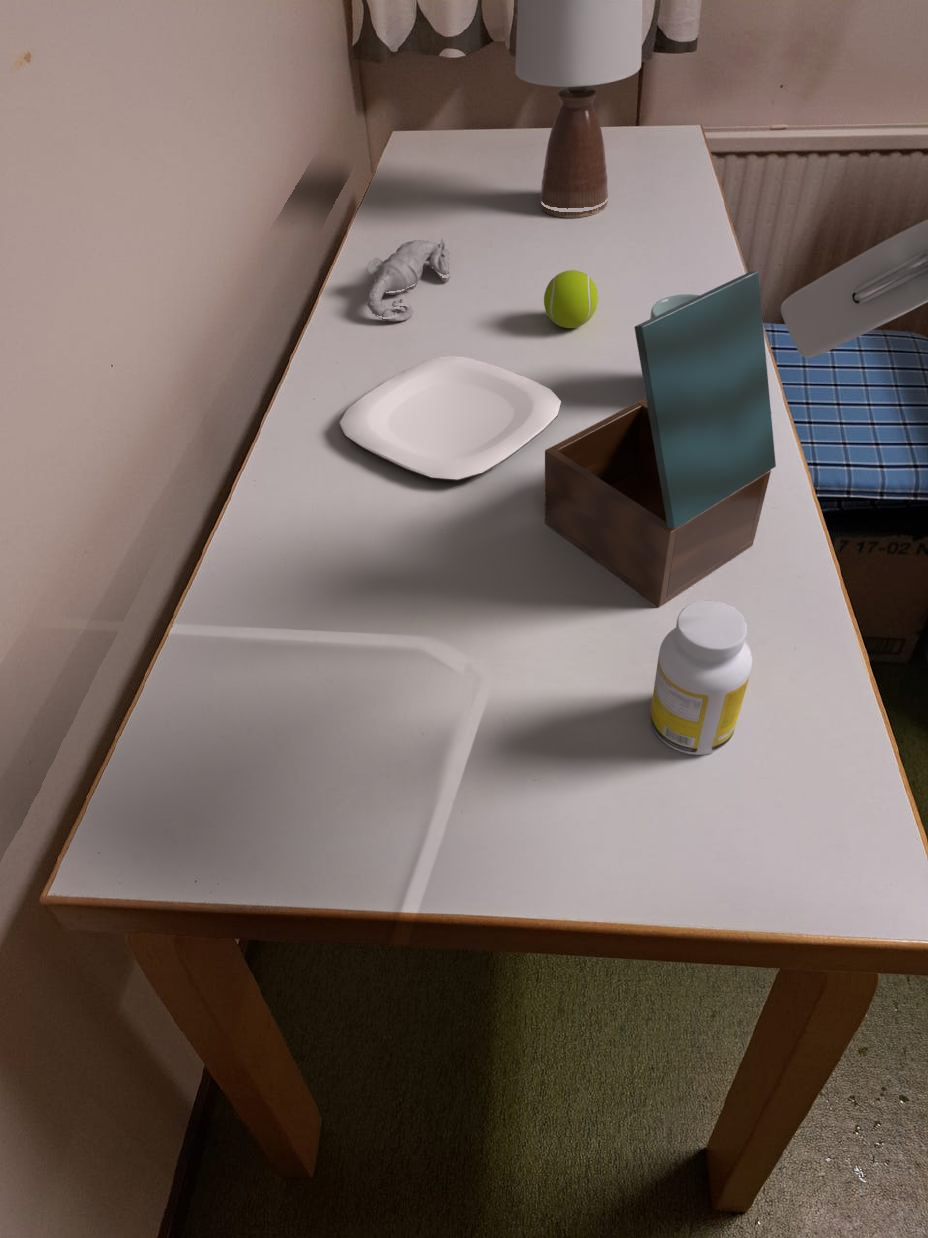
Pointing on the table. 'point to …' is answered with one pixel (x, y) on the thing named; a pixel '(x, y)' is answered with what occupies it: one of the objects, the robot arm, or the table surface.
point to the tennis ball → (571, 299)
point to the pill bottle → (701, 678)
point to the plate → (450, 417)
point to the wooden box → (640, 509)
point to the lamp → (577, 86)
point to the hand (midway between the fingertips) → (830, 312)
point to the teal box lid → (708, 396)
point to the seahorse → (404, 274)
